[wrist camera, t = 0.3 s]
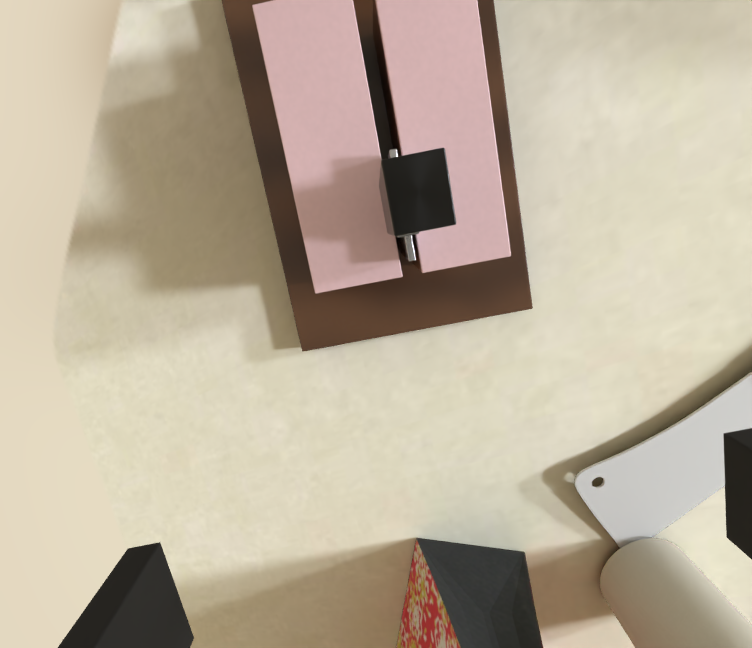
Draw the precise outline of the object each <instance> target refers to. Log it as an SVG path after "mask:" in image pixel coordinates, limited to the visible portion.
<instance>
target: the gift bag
mask: <svg viewBox="0 0 752 648" xmlns="http://www.w3.org/2000/svg"><path fill="white" fill-rule="evenodd" d="M396 648H543V645H542V640H541V636H540V631H539V626H538V621H537V617H536V612H535V607H534V601H533V596H532V590H531V585H530V579H529V573H528V568H527V562H526V557H525V552H519V551H512V550H504V549H496V548H489V547H481V546H473V545H466V544H458V543H450V542H443V541H435V540H427V539H420V538H416V543H415V549H414V554H413V560H412V565H411V570H410V576H409V581H408V587H407V592H406V598H405V603H404V608H403V614H402V619H401V625H400V630H399V635H398V641H397V646H396Z"/></svg>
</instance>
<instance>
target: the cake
mask: <svg viewBox="0 0 752 648" xmlns="http://www.w3.org/2000/svg"><path fill="white" fill-rule="evenodd" d="M252 7H253V12H254V16H255V21H256V25H257V30H258V35H259V39H260V44H261V48H262V53H263V57H264V62H265V66H266V71H267V76H268V80H269V85H270V89H271V94H272V98H273V103H274V108H275V112H276V117H277V121H278V126H279V130H280V135H281V140H282V144H283V149H284V153H285V158H286V162H287V167H288V172H289V176H290V181H291V185H292V190H293V194H294V199H295V203H296V208H297V213H298V217H299V222H300V226H301V231H302V235H303V240H304V245H305V249H306V254H307V258H308V263H309V267H310V272H311V277H312V281H313V286H314V290H315V293H321V292H327V291H332V290H337V289H342V288H348V287H353V286H358V285H363V284H368V283H374V282H379V281H384V280H389V279H395V278H400V277H402V270H401V264H400V259H399V253H398V248H397V242H396V237H395V236H393V235H390V234H388V233H387V228H386V223H385V217H384V212H383V206H382V201H381V195H380V190H379V178H380V168H381V160H382V159H381V153H380V148H379V142H378V137H377V131H376V126H375V120H374V115H373V109H372V104H371V98H370V92H369V87H368V81H367V76H366V70H365V65H364V59H363V54H362V48H361V42H360V37H359V31H358V26H357V20H356V15H355V9H354V4H353V0H273V1H268V2H264V3H259V4H254V5H252ZM372 14H373V38H374V44H375V49H376V55H377V61H378V67H379V72H380V78H381V84H382V89H383V95H384V101H385V107H386V112H387V118H388V124H389V129H390V135H391V141H392V147H393V149H397V154H398V156H403V155H408V154H413V153H418V152H423V151H428V150H433V149H438V148H445V152H446V158H447V165H448V171H449V178H450V184H451V191H452V197H453V204H454V210H455V217H456V225H452V226H447V227H442V228H437V229H432V230H427V231H421V232H419V234H416V235H412V241H413V247H414V252H415V258H416V260H414V261H413V265H415V266H416V267H417V268H418V269H419V270H420V271H421V272H422V273H426V272H431V271H436V270H441V269H447V268H452V267H457V266H462V265H468V264H473V263H478V262H483V261H488V260H494V259H499V258H504V257H509V256H511V251H510V243H509V236H508V228H507V221H506V213H505V206H504V198H503V190H502V183H501V175H500V168H499V160H498V153H497V145H496V138H495V130H494V123H493V115H492V108H491V100H490V93H489V85H488V78H487V70H486V63H485V55H484V48H483V40H482V33H481V25H480V17H479V10H478V2H477V0H372Z"/></svg>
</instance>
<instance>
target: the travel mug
mask: <svg viewBox="0 0 752 648" xmlns="http://www.w3.org/2000/svg"><path fill="white" fill-rule="evenodd" d="M600 589H601V592H602V595H603V597H604V599H605V600H606V602H607V603H608V605H609V606H610V608H611V610H612V611H613V613H614V614H615V616H616V618H617V619H618V621H619V622H620V624H621V626H622V627H623V629H624V630H625V632H626V633H627V635H628V637H629V638H630V640H631V641H632V643H633V645H634V646H635V648H752V624H751V623H750V622H749V621H748V620H747V619H746V618H745V617H744V616H743V615H742V614H741V613H740V612H739V611H738V609H737V608H736V607H735V606H734V605H733V604H732V603H731V602H730V601H729V600H728V599H727V598H726V597H725V596H724V595H723V593H722V592H721V591H720V590H719V589H718V588H717V587H716V586H715V585H714V584H713V583H712V582H711V581H710V580H709V579H708V577H707V576H706V575H705V574H704V573H703V572H702V571H701V570H700V569H699V568H698V567H697V566H696V565H695V564H694V563H693V562H692V560H691V559H690V558H689V557H688V556H687V555H686V554H685V553H684V552H683V551H682V550H681V549H680V548H679V547H678V546H677V545H675V544H674V543H672V542H669V541H667V540H663V539H657V538H648V539H641V540H637V541H634V542H632V543H629V544H627V545H625V546H624V547H622V548H620V549H619V550H618V551H616V552H615V553H614V554H613V555H612V556H611V557H610V558H609V560H608V561H607V562H606V564H605V566H604V568H603V570H602V573H601V576H600Z"/></svg>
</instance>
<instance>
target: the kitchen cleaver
mask: <svg viewBox="0 0 752 648" xmlns="http://www.w3.org/2000/svg"><path fill="white" fill-rule="evenodd" d="M749 428H752V372H750V373H749V374H747V375H746V376H745V377H743V378H742V379H740V380H739V381H738V382H736V383H735V384H733V385H732V386H730V387H729V388H728V389H726V390H725V391H723V392H722V393H721V394H719V395H718V396H716V397H715V398H713V399H712V400H711V401H709V402H708V403H706V404H705V405H703V406H702V407H700V408H699V409H697V410H696V411H694V412H693V413H691V414H690V415H688V416H687V417H685V418H684V419H682V420H680V421H679V422H677V423H675V424H674V425H672V426H670V427H668V428H667V429H665V430H663V431H661V432H660V433H658V434H656V435H654V436H652V437H650V438H649V439H647V440H645V441H643V442H641V443H639V444H637V445H635V446H633V447H631V448H629V449H627V450H625V451H623V452H621V453H619V454H616V455H614V456H612V457H610V458H607V459H605V460H602V461H600V462H598V463H595V464H593V465H591V466H589V467H587V468H585V469H583V470H581V471H580V472H579V473H578V474H577V475H576V476H575V479H574V485H575V487H576V489H577V491H578V493H579V494H580V496H581V497H582V499H583V500H584V502H585V503H586V505H587V506H588V507H589V509H590V510H591V512H592V513H593V514H594V516H595V517H596V518H597V520H598V521H599V522H600V523H601V524H602V526H603V527H604V528H605V529H606V530H607V532H608V533H609V534H610V535H611V537H612V538H613V539H614V541H615V542H616V543H617V545H618V546H619V548H622V547H624V546H625V545H627V544H629V543H632V542H634V541H637V540H641V539H648V538H652V537H653V536H655V535H656V534H658V533H659V532H661V531H662V530H664V529H665V528H666V527H668V526H669V525H671V524H672V523H673V522H675V521H676V520H678V519H679V518H680V517H682V516H683V515H685V514H686V513H687V512H689V511H690V510H692V509H693V508H694V507H696V506H697V505H699V504H700V503H701V502H703V501H704V500H706V499H707V498H708V497H710V496H711V495H713V494H714V493H715V492H717V491H718V490H719V489H721V488H722V487H724V486H725V468H724V437H723V433H728V432H733V431H739V430H744V429H749ZM597 477H602V478H603V483H602V484H601V485H600V486H598V487H594V486H592V481H593V480H594V479H595V478H597Z"/></svg>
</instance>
